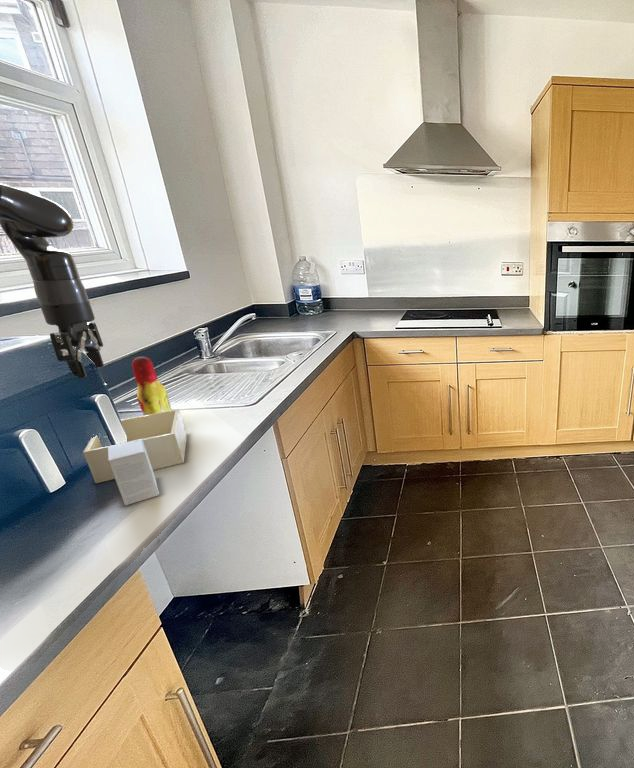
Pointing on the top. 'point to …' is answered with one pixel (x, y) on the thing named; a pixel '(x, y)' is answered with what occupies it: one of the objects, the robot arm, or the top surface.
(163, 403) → the bottle
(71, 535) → the top surface
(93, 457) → the beige open box
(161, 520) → the top surface
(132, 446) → the small box
